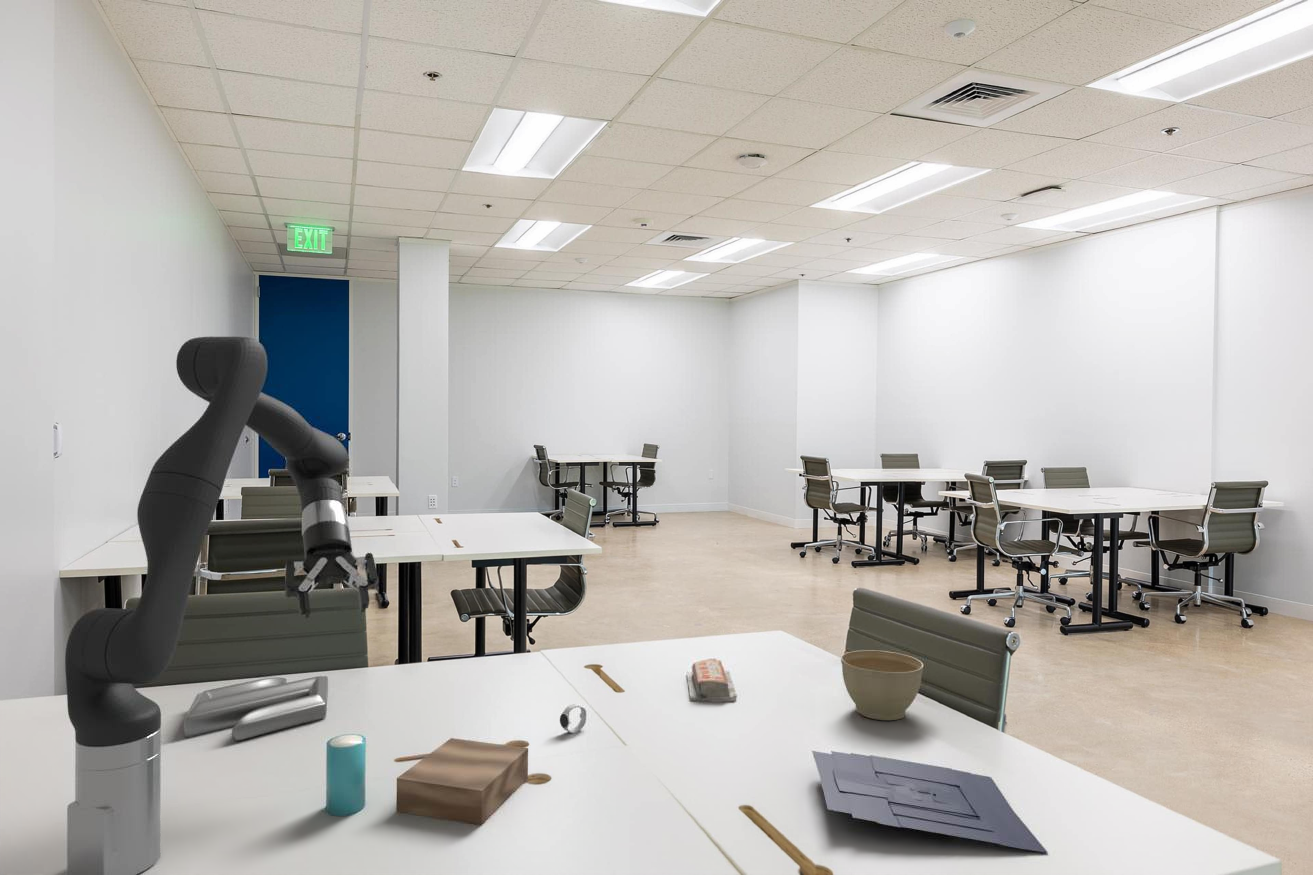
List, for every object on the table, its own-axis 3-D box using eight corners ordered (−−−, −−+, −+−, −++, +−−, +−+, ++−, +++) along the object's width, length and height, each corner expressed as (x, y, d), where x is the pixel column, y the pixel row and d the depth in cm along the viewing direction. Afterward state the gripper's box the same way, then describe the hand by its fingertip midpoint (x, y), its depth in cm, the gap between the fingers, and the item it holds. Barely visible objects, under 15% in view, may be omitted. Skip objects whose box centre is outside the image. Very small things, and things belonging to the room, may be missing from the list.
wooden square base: (481, 825, 116) (482, 790, 116) (396, 811, 120) (396, 778, 120) (527, 778, 132) (528, 748, 132) (450, 767, 135) (451, 737, 135)
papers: (808, 761, 137) (811, 741, 137) (987, 792, 135) (991, 770, 135) (826, 834, 113) (830, 809, 113) (1046, 873, 111) (1049, 847, 110)
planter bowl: (939, 722, 160) (940, 667, 160) (872, 732, 154) (873, 676, 154) (888, 696, 175) (889, 646, 175) (824, 704, 169) (825, 653, 169)
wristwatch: (558, 732, 151) (559, 706, 151) (579, 726, 155) (579, 700, 155) (568, 737, 149) (568, 710, 149) (589, 730, 153) (589, 704, 153)
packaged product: (737, 681, 170) (690, 680, 169) (737, 704, 170) (690, 703, 170) (729, 656, 188) (686, 655, 187) (729, 677, 188) (686, 676, 188)
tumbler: (350, 818, 118) (350, 750, 117) (317, 813, 119) (318, 745, 119) (372, 801, 123) (373, 736, 123) (341, 796, 124) (342, 732, 124)
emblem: (248, 663, 175) (364, 672, 169) (248, 687, 175) (364, 698, 169) (141, 707, 147) (276, 720, 142) (141, 736, 148) (276, 750, 142)
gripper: (282, 521, 134) (289, 604, 125) (371, 516, 141) (384, 595, 132) (279, 548, 139) (286, 630, 129) (366, 542, 146) (378, 619, 137)
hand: (335, 612), depth 131 cm, fingers open, 8 cm apart
